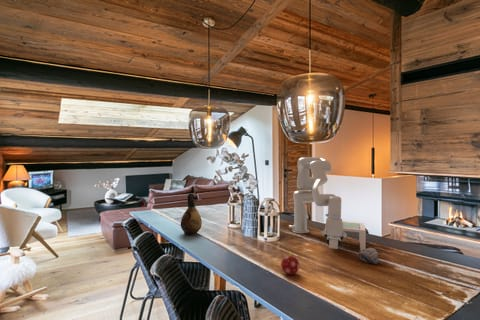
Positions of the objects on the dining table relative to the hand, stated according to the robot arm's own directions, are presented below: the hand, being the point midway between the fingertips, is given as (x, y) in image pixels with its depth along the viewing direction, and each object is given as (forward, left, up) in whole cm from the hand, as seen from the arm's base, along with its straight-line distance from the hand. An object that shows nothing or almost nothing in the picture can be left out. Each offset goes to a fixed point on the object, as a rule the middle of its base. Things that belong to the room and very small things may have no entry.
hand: (333, 245), depth 169 cm
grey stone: (0, 0, -1) cm, 1 cm away
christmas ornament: (-17, -45, -3) cm, 48 cm away
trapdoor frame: (+8, +17, -3) cm, 19 cm away
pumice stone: (+19, -12, -3) cm, 22 cm away
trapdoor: (+7, +17, +9) cm, 21 cm away
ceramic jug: (-100, -2, -3) cm, 101 cm away
